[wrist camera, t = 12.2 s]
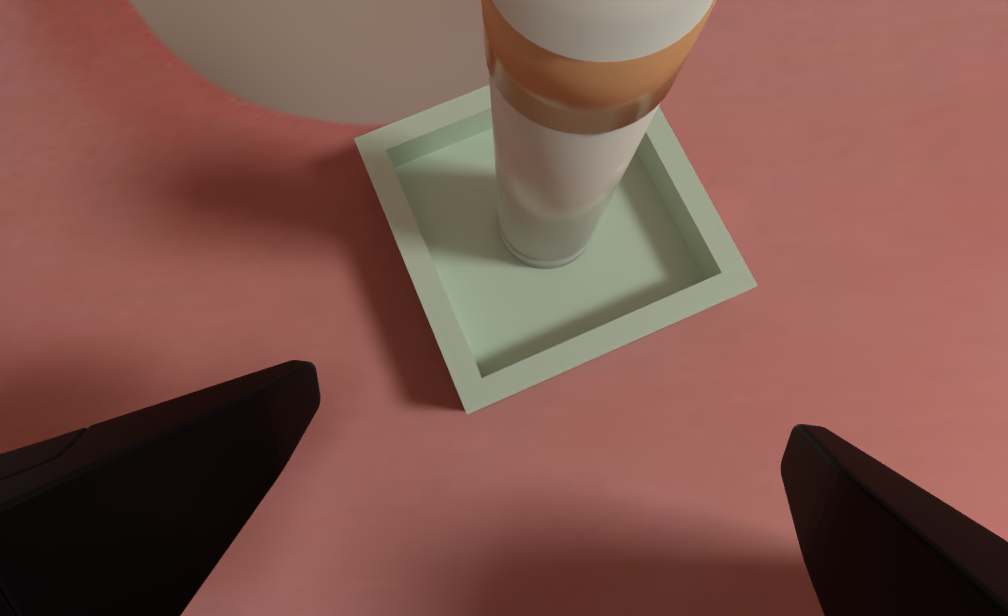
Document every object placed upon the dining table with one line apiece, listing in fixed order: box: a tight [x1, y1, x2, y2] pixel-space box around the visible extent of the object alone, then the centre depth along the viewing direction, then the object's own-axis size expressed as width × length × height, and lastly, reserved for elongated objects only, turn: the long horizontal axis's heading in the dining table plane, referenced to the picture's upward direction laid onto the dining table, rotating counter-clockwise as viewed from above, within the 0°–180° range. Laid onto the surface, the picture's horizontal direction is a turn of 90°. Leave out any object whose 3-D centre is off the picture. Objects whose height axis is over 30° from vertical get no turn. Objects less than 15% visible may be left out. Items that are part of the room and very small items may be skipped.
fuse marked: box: [481, 0, 717, 269], centre depth 13 cm, size 4×4×13 cm
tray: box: [354, 85, 758, 414], centre depth 19 cm, size 12×12×2 cm
